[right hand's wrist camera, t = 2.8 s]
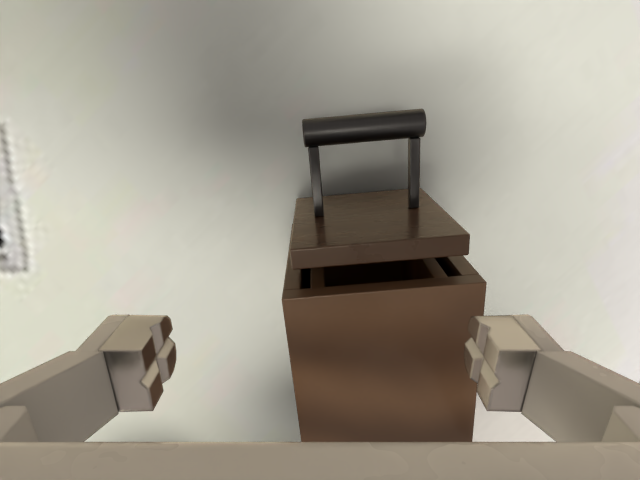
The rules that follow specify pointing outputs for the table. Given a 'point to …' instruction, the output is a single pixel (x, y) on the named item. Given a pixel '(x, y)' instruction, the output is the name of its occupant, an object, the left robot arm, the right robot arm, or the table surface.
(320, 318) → the cabinet
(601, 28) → the table surface
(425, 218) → the drawer
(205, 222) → the table surface
